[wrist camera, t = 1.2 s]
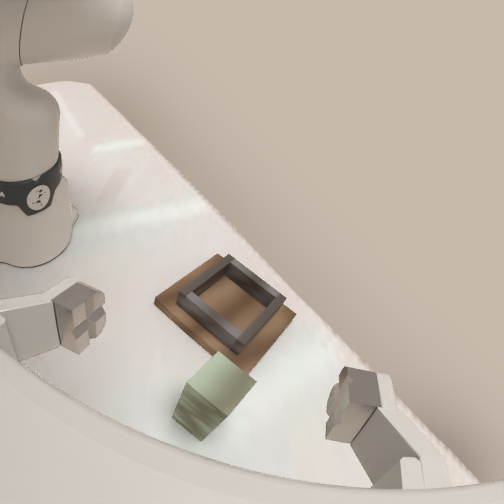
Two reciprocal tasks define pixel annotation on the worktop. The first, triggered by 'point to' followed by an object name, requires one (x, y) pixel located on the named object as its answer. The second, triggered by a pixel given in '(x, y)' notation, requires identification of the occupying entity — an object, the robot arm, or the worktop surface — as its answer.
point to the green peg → (211, 395)
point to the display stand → (227, 310)
